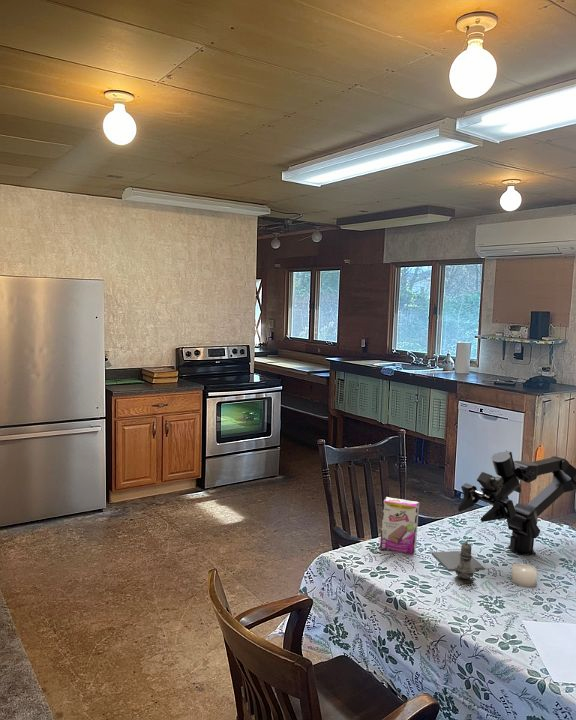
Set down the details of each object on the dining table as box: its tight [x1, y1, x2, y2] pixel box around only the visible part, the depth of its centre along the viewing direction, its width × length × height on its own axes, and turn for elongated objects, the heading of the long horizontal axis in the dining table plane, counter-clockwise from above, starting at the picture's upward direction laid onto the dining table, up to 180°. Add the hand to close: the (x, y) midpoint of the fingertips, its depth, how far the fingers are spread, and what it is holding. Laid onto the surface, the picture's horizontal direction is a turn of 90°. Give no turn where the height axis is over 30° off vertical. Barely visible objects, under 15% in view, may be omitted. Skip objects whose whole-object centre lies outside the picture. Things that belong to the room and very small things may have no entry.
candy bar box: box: [379, 496, 420, 556], centre depth 190 cm, size 11×5×16 cm, turn 71°
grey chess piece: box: [453, 540, 476, 585], centre depth 171 cm, size 6×6×12 cm
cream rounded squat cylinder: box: [510, 562, 538, 588], centre depth 173 cm, size 7×7×4 cm
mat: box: [431, 550, 486, 572], centre depth 184 cm, size 12×12×1 cm
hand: (469, 515), depth 181 cm, fingers open, 9 cm apart
